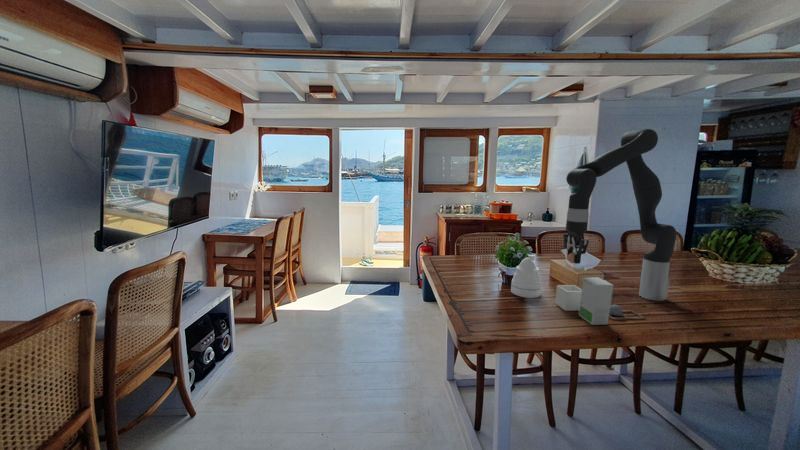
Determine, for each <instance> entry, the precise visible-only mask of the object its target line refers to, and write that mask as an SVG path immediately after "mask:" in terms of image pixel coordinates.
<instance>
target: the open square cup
mask: <svg viewBox="0 0 800 450" xmlns="http://www.w3.org/2000/svg"><path fill="white" fill-rule="evenodd" d="M555 289H556V290H555V301H554V302H555V305H557V306H558V307H560V308H561V309H562V310H564V311H565V312H568V311H569V312H572V311H575V312H576V311H577V312H579V309H580V301H581V294H582V288H580V287H578V286H577V285H575V284H564V285H563V284H557V285H556V288H555Z"/></svg>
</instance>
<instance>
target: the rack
mask: <svg viewBox="0 0 800 450" xmlns="http://www.w3.org/2000/svg"><path fill="white" fill-rule="evenodd" d="M624 313H631V314H633V315H635V316H627V315H625V314H624ZM620 316H621V317H620ZM620 316H612V315H611V314H609V319H610V320H611V321H616V320H617V321H619V320H622V321H623V320H625V321H626V320H629V321H630V320H646V317H645V316H644V315H641V314H640V313H637V312H636V311H634V310H632V309H625V310H624V309H622V313H621V315H620Z"/></svg>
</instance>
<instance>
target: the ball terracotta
mask: <svg viewBox="0 0 800 450" xmlns="http://www.w3.org/2000/svg"><path fill="white" fill-rule="evenodd" d="M574 255H575V252H574V253H570V254H569V255H568V257H567V256H566V260H567V259H568V260H567V261H568V262H569V263H571V264H575V263H574Z"/></svg>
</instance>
